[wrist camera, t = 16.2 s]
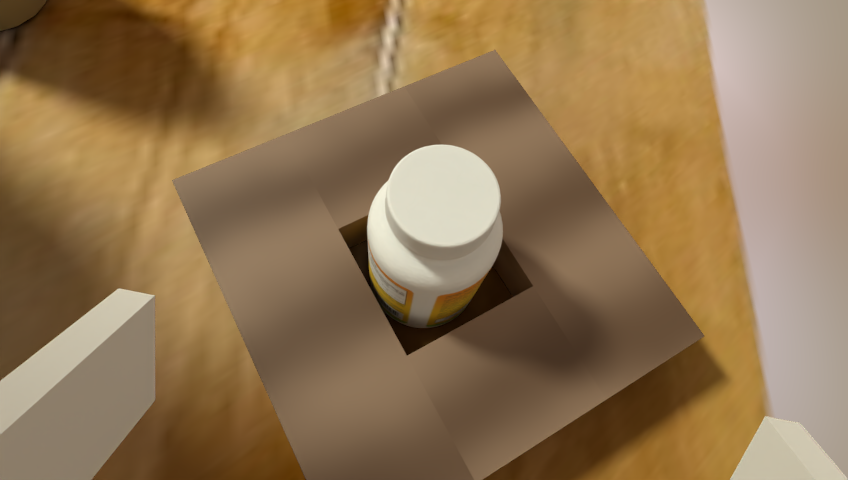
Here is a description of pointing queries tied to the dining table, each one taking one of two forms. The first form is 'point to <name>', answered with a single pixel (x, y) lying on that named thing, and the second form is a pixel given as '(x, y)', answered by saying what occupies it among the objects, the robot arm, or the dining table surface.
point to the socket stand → (466, 345)
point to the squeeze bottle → (18, 12)
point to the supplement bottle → (433, 235)
